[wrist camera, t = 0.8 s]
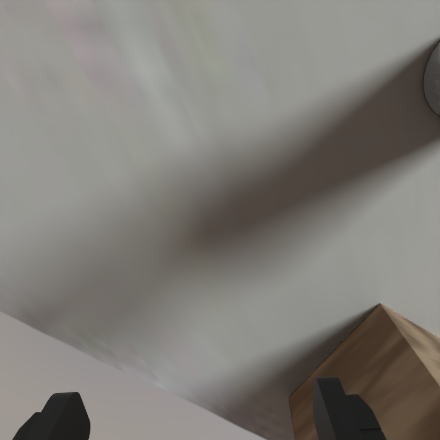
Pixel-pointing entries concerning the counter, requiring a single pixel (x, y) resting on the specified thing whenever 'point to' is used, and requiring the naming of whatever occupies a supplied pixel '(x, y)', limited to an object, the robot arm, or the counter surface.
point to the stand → (382, 378)
